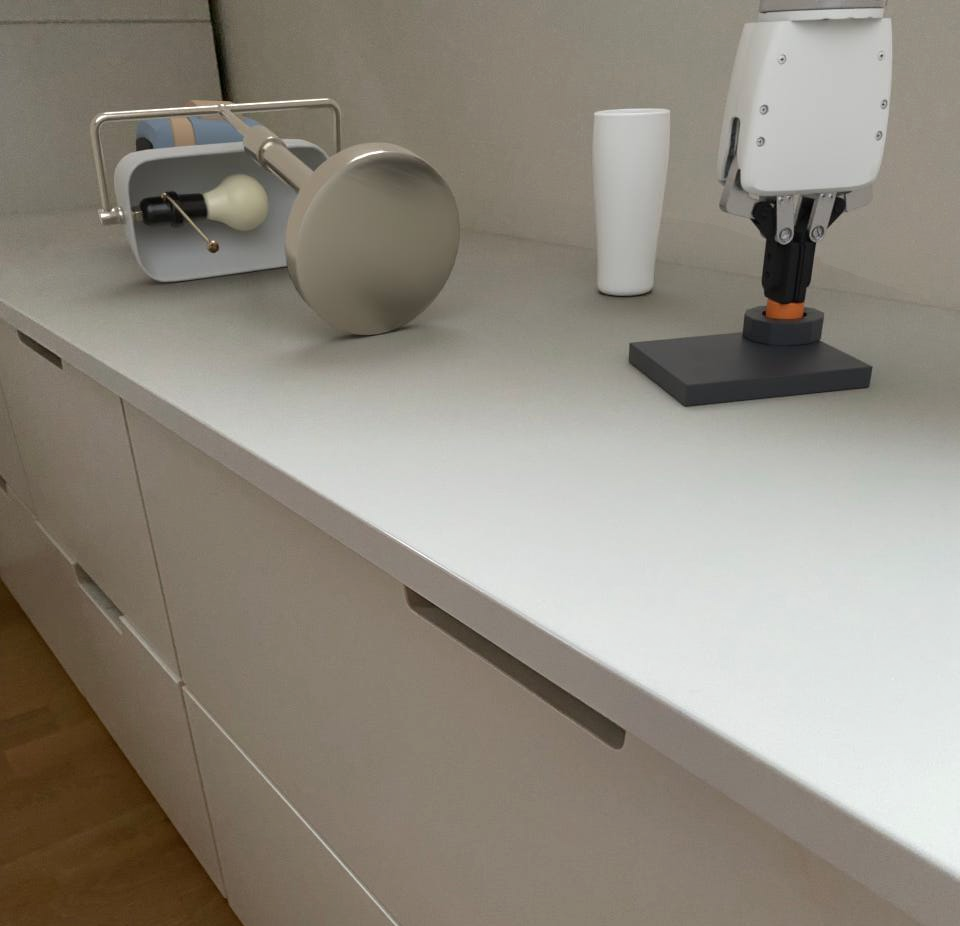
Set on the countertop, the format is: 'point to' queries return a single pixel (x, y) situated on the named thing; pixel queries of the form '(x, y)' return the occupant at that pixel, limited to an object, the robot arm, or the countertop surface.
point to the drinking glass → (628, 195)
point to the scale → (750, 361)
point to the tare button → (784, 310)
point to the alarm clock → (188, 130)
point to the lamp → (288, 215)
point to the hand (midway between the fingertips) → (783, 299)
